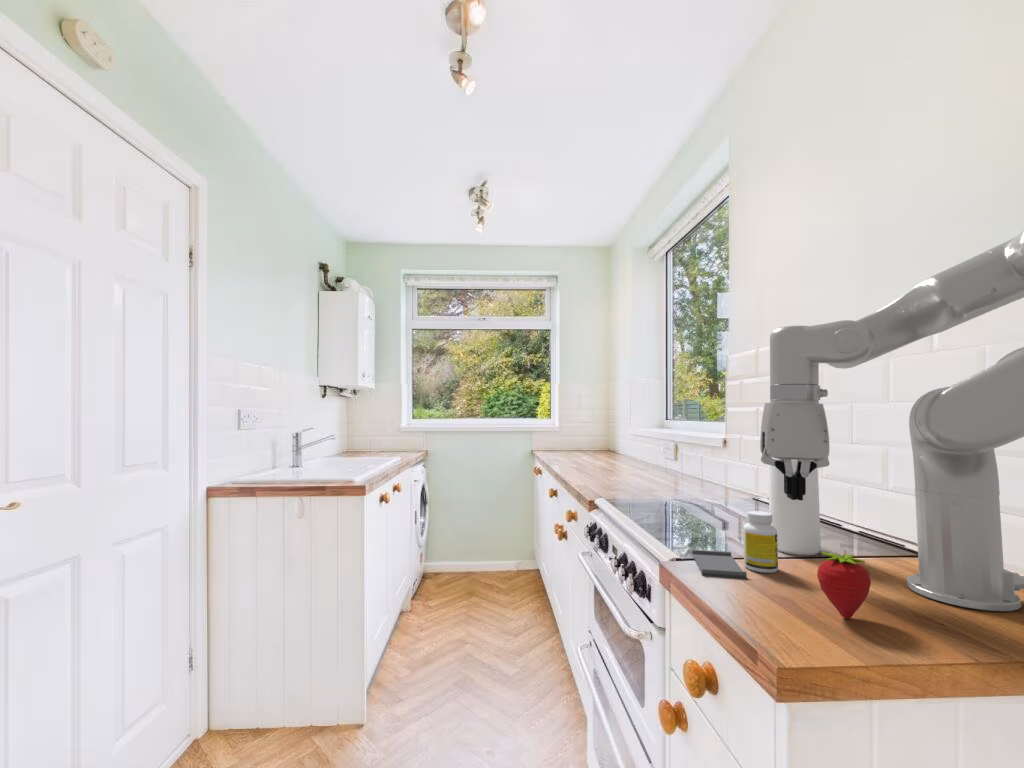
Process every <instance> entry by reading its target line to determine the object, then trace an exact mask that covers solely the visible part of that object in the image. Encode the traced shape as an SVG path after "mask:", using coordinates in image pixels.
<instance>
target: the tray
mask: <svg viewBox="0 0 1024 768" xmlns="http://www.w3.org/2000/svg"><path fill="white" fill-rule="evenodd" d="M692 554H693V555H692ZM691 555H692V557H693V556H694V557H693V559H694V558H695V559H694V561H695V564H696V565H697V568H698V567H699V568H698V569H699V571H700V574H701V575H702V576H708V577H709V576H710V577H721V578H735V579H736V578H738V579H747V576H748V575H747V573H748V572H747V571H746V570H743V569H742V568H741V566H739V564H738V563H737V561H736V560H735V558H734V557H733V556H732V552H731V551H725V550H724V551H723V550H708V549H707V550H706V549H705V550H704V549H691Z"/></svg>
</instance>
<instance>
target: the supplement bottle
mask: <svg viewBox="0 0 1024 768" xmlns="http://www.w3.org/2000/svg"><path fill="white" fill-rule="evenodd" d="M746 515H747V517H746V518H747V521H748V522H746V523H745V524H744V526H743V530H742V531H743V562H744V563H743V565H744V567H745V568H746V569H748V570H750V571H753V572H756V573H764V574H765V573H766V574H767V573H768V574H773V573H777V571H778V570H779V551H778V547H777V530H776V528H775V527H774V526H772V525H771V523H772V521H773V520H772V514H771V513H769V512H767V511H760V510H750V511H747V514H746Z"/></svg>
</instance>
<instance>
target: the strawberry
mask: <svg viewBox="0 0 1024 768" xmlns="http://www.w3.org/2000/svg"><path fill="white" fill-rule="evenodd" d="M820 553H821V554H822V555H825V556H828V557H829V558H827V559H825V560H823V561H822V562H821V563H820V564H819V566H818V567H817V571H816V572H817V573H816V575H817V580H818V583H819V585H820V588H821V591H822V593H824V595H825V597H826V598H827V599H828V600H829V602H830V604H832V605H833V607H834V608H835V609H836V610H837V611H838V613H839V615H840V616H841V617H843V618H844V619H847V620H848V619H851V618H852V617H853V616H854V614H855V613H856V612H857V611H858V610H859V609H860V608H861V606H862V604H863V603H864V602H865V600H866V599H867V597H868V596H869V593H870V590H871V589H870V588H871V584H872V581H871V580H872V579H871V575H870V573H869V571H868V570H867V569H866V567H864V566H863V565H862V564H865V562H866V561H865V560H863V559H857V558H854V557H855V556H856V555H855V554H846V553H847V550H844V553H843V556H842V555H838V554H837V553H831V552H825V551H820Z"/></svg>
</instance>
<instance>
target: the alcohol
mask: <svg viewBox="0 0 1024 768" xmlns="http://www.w3.org/2000/svg"><path fill="white" fill-rule="evenodd" d="M772 458H773V457H772ZM773 459H776V460H779V459H778V458H773ZM791 461H792V467H793V473H794V475H795V471H796V465H797V459H791ZM811 461H814V460H811ZM767 476H768V477H767V478H768V480H767V481H768V504H769V505H768V506H769V507H768V508H769V509H768V510H769V512H768V513H771V514H772V520H773V521H772V523H771V525H772V526H774V527H775V528H776V530H777V547H778V552H780V553H783V552H784V554H788V555H794V556H795V555H796V556H803V555H804V556H806V557H807V556H810V555H811V556H816V555H818V554H819V553H820V552H821V549H822V543H821V540H822V539H821V515H820V491H819V486H820V485H819V468H815V469H814V470H813V471H812V472H811V473H810V474H809V475H808V477H806V494H805V495H803V500H797V499H796V500H792V499H790V498H788V497H787V494H785V493H784V475H783V474H782V473H781V472H780V471H779V470H778V469H777V468H776V467H775V466H772V465H768V464H767Z"/></svg>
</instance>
